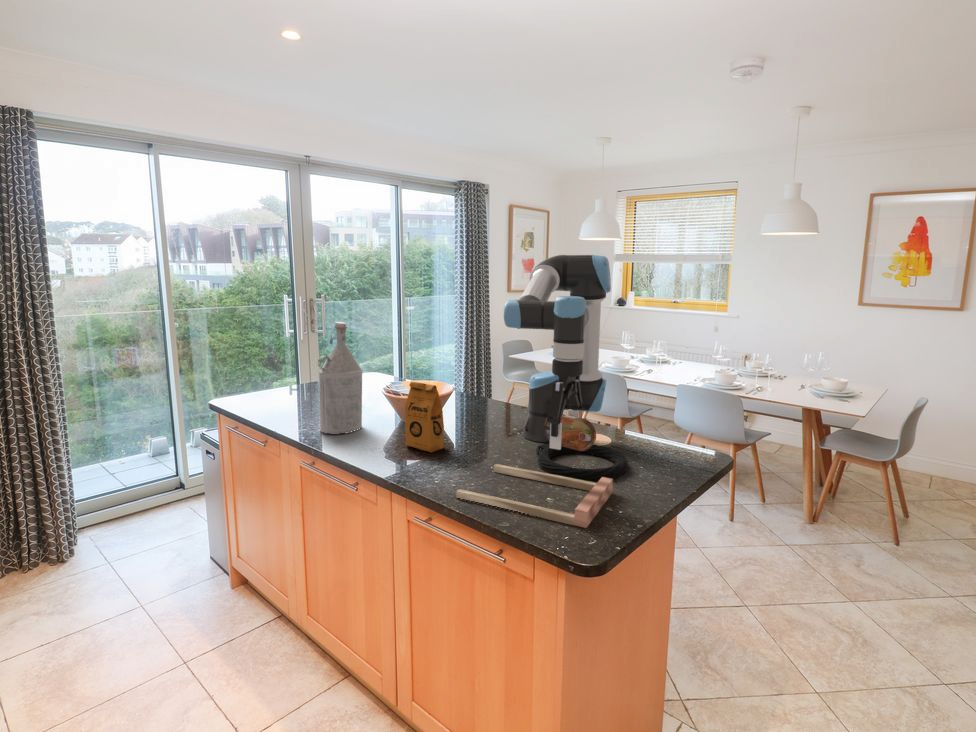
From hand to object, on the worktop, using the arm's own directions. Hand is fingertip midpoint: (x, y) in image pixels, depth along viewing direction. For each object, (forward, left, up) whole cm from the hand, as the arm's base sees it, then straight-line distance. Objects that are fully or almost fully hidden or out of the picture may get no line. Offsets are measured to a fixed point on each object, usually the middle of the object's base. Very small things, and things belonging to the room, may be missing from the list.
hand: (564, 440), depth 142 cm
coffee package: (-19, -55, -16) cm, 60 cm away
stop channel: (0, -7, -16) cm, 18 cm away
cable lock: (-29, -5, -17) cm, 34 cm away
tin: (-5, 0, -3) cm, 6 cm away
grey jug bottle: (-21, -93, -16) cm, 96 cm away
